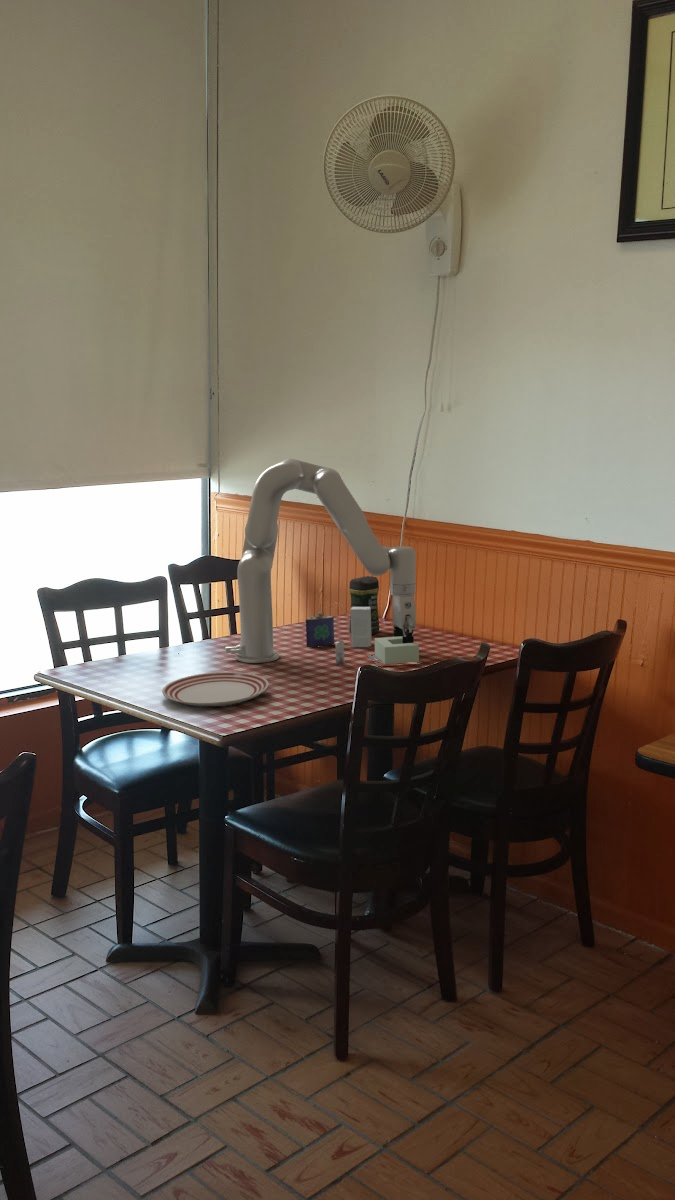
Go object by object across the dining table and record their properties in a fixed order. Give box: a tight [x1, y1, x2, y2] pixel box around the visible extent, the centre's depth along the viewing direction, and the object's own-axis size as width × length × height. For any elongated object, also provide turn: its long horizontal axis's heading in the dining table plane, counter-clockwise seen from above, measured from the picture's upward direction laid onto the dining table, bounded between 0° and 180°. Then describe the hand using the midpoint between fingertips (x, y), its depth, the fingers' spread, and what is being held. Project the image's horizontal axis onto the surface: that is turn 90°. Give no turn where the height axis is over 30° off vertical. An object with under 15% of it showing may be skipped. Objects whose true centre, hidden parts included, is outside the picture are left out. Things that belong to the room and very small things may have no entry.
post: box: [334, 640, 345, 665], centre depth 307 cm, size 2×2×6 cm
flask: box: [305, 611, 336, 648], centre depth 329 cm, size 9×3×11 cm, turn 114°
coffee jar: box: [348, 575, 380, 636], centre depth 343 cm, size 10×8×19 cm
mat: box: [366, 653, 423, 668], centre depth 311 cm, size 13×14×1 cm
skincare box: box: [350, 607, 373, 648], centre depth 328 cm, size 6×4×12 cm
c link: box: [374, 636, 420, 664], centre depth 311 cm, size 10×12×5 cm
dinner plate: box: [161, 671, 270, 707], centre depth 277 cm, size 27×27×3 cm
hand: (403, 645), depth 316 cm, fingers open, 9 cm apart
